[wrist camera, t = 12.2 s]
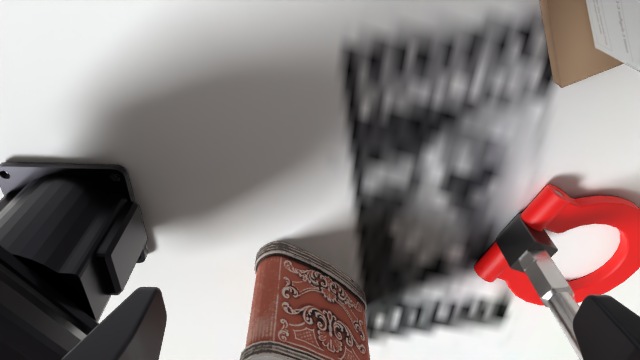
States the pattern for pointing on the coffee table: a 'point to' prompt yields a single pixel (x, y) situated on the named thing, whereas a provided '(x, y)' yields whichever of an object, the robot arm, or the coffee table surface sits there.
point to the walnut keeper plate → (572, 42)
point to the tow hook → (537, 249)
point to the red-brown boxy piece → (304, 309)
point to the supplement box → (617, 29)
